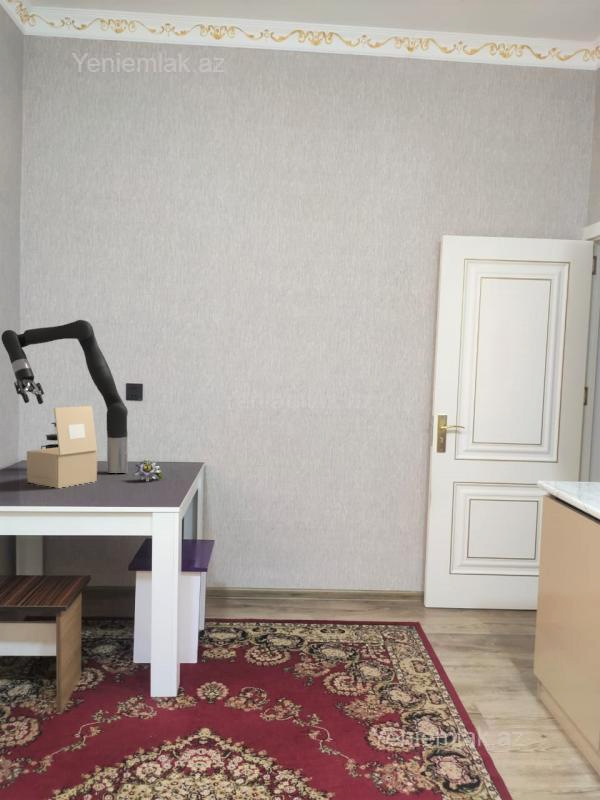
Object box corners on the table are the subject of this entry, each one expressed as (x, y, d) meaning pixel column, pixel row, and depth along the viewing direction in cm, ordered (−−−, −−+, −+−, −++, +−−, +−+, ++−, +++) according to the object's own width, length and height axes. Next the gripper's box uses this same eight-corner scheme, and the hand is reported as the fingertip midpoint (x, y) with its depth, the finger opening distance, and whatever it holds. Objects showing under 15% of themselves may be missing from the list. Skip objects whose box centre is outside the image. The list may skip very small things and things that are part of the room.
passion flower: (147, 494, 288) (132, 474, 283) (141, 485, 297) (127, 465, 292) (168, 479, 291) (154, 458, 285) (162, 470, 300) (148, 451, 295)
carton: (25, 483, 278) (25, 451, 278) (66, 476, 297) (66, 446, 296) (57, 489, 268) (57, 455, 267) (97, 481, 286) (97, 450, 285)
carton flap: (53, 407, 269) (55, 407, 268) (90, 405, 285) (92, 405, 285) (59, 455, 268) (60, 454, 267) (96, 450, 284) (97, 450, 284)
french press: (67, 467, 322) (67, 421, 321) (66, 470, 313) (66, 423, 312) (42, 468, 319) (41, 421, 318) (40, 471, 310) (40, 423, 309)
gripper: (17, 365, 287) (28, 398, 284) (40, 369, 301) (51, 400, 297) (4, 373, 289) (16, 405, 286) (28, 376, 303) (39, 407, 299)
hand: (34, 402), depth 292 cm, fingers open, 8 cm apart
